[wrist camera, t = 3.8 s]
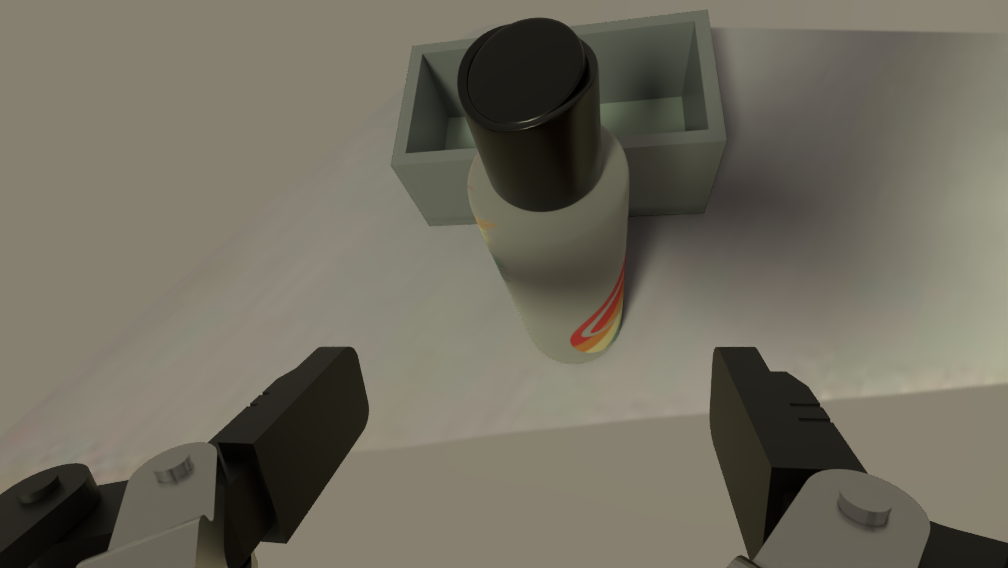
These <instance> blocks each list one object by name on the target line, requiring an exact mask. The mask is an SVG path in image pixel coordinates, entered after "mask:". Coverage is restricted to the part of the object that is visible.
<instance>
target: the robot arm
mask: <svg viewBox="0 0 1008 568" xmlns="http://www.w3.org/2000/svg"><path fill="white" fill-rule="evenodd" d="M368 415H369V404H368V399H367V395H366V390H365V386H364V381H363V377H362V373H361V368H360V364H359V359H358V355H357V353H356V351H355V350H354V349H353V348H352V347H319V348H317V349H316V350H315V351H314V352H313V353H312V354H311V355H310V356H309V357H308V358H307V359H306V360H304V361H303V362H302V363H301V364H300V365H299V366H298V367H297V368H296V369H294V370H292V371H290V372H289V373H287V374H285V375H283V376H281V377H280V378H278V379H277V380H276V381H274V382H273V383H272V384H271V385H270V386H269V387H268V388H267V389H266V390H265V391H264V392H263V395H259V396H258V397H257V398H256V399H255V400H254V401H253V402H252V403H250V407H246V408H245V409H244V410H243V411H242V412H241V413H240V414H238V415H237V416H236V417H235V418H234V419H233V420H232V421H231V422H230V423H229V424H228V425H226V426H225V427H224V428H223V429H222V430H221V431H220V432H219V433H218V434H217V435H216V436H214V437H213V438H212V439H211V440H210V441H209V442H208V443H204V442H196V443H189V444H184V445H181V446H177V447H174V448H172V449H169V450H167V451H165V452H162V453H160V454H159V455H157V456H155V457H153V458H152V459H150V460H148V461H147V462H146V463H144V464H143V465H142V466H141V467H139V468H138V469H137V470H136V471H135V472H134V473H133V475H132V476H131V478H130V479H129V480H126V481H121V482H115V483H110V484H104V485H99V486H97V485H96V482H95V480H94V478H93V476H92V474H91V472H90V470H89V468H88V467H87V466H86V465H84V464H78V463H74V464H65V465H61V466H56V467H53V468H50V469H47V470H44V471H42V472H39V473H37V474H35V475H32V476H30V477H28V478H26V479H24V480H22V481H21V482H19V483H17V484H15V485H14V486H12V487H11V488H9V489H8V490H6V491H5V492H3V493H2V494H1V495H0V568H258V562H257V558H256V556H255V553H254V549H255V548H256V547H257V545H258V544H259V543H260V541H262V542H273V543H285V544H286V543H287V542H288V541H289V539H290V538H291V536H292V535H293V533H294V532H295V530H296V529H297V527H298V526H299V525H300V523H301V522H302V520H303V519H304V517H305V516H306V514H307V513H308V511H309V510H310V508H311V507H312V505H313V504H314V503H315V501H316V500H317V498H318V497H319V495H320V494H321V492H322V491H323V489H324V488H325V486H326V485H327V483H328V482H329V481H330V479H331V478H332V476H333V474H334V473H335V472H336V470H337V469H338V467H339V466H340V464H341V463H342V461H343V460H344V459H345V457H346V456H347V454H348V453H349V451H350V450H351V448H352V447H353V445H354V444H355V442H356V441H357V439H358V438H359V436H360V435H361V434H362V432H363V431H364V429H365V427H366V424H367V420H368ZM710 429H711V435H712V440H713V445H714V447H715V451H716V454H717V457H718V460H719V464H720V467H721V470H722V473H723V476H724V479H725V483H726V486H727V489H728V492H729V496H730V499H731V502H732V505H733V508H734V511H735V514H736V518H737V521H738V524H739V527H740V531H741V534H742V537H743V540H744V543H745V547H746V549H747V553H748V556H749V559H750V560H749V559H748V558H746V557H744V556H742V555H740V556H737V557H736V558H735V559H734V560H733V561H732V562H731V563H730V564H729V565H728V566H727V568H1008V543H1006V542H1002V541H998V540H994V539H991V538H987V537H983V536H979V535H975V534H972V533H968V532H964V531H960V530H956V529H953V528H949V527H946V526H943V525H939V524H937V523H934V522H932V521H929V519H928V517H927V515H926V513H925V511H924V510H923V509H922V507H921V506H920V505H919V504H918V503H917V502H916V501H915V500H914V499H913V498H912V497H911V496H909V495H908V494H907V493H906V492H904V491H903V490H901V489H900V488H898V487H897V486H895V485H893V484H891V483H889V482H887V481H885V480H883V479H880V478H878V477H875V476H872V475H869V474H868V473H867V472H866V470H865V469H864V468H863V466H862V465H861V463H860V462H859V460H858V459H857V457H856V456H855V454H854V453H853V452H852V450H851V448H850V447H849V445H848V444H847V443H846V441H845V440H844V438H843V437H842V435H841V434H840V432H839V431H838V429H837V428H836V427H835V425H834V424H833V423H831V422H830V418H829V416H828V415H827V413H826V412H825V410H824V409H823V408H822V407H820V403H819V402H818V400H817V399H816V397H815V396H814V394H813V393H812V392H811V390H810V389H809V387H808V386H807V385H805V384H804V383H802V382H801V381H799V380H798V379H796V378H795V377H793V376H792V375H790V374H789V373H788V372H770V370H769V369H768V367H767V365H766V363H765V362H764V360H763V358H762V357H761V355H760V353H759V352H758V350H757V349H756V348H755V347H716V348H715V349H714V353H713V362H712V379H711V397H710Z"/></svg>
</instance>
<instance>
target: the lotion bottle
mask: <svg viewBox="0 0 1008 568" xmlns="http://www.w3.org/2000/svg"><path fill="white" fill-rule="evenodd" d="M457 91H458V96H459V100H460V103H461V106H462V109H463V112H464V115H465V117H466V120H467V123H468V125H469V128H470V131H471V133H472V136H473V139H474V141H475V144H476V147H477V149H478V153H477V155H476V156H475V158H474V160H473V163H472V165H471V168H470V171H469V176H468V197H469V202H470V206H471V209H472V211H473V214H474V217H475V219H476V221H477V224H478V226H479V228H480V230H481V233H482V235H483V237H484V239H485V241H486V243H487V246H488V248H489V250H490V252H491V254H492V256H493V258H494V261H495V263H496V265H497V267H498V269H499V271H500V273H501V276H502V278H503V280H504V282H505V284H506V286H507V288H508V291H509V293H510V295H511V297H512V299H513V301H514V303H515V306H516V308H517V310H518V312H519V314H520V316H521V318H522V321H523V323H524V325H525V327H526V329H527V331H528V333H529V335H530V337H531V339H532V340H533V342H534V343H535V345H536V346H537V347H538V348H539V349H540V350H541V351H542V352H543V353H544V354H545V355H547V356H548V357H550V358H552V359H554V360H556V361H559V362H562V363H567V364H581V363H586V362H589V361H592V360H594V359H596V358H598V357H600V356H601V355H603V354H604V353H605V352H606V351H607V350H608V349H609V348H610V347H611V346H612V345H613V343H614V342H615V340H616V338H617V336H618V333H619V330H620V326H621V320H622V308H623V291H624V274H625V257H626V240H627V223H628V205H629V167H628V162H627V158H626V155H625V152H624V150H623V148H622V146H621V144H620V142H619V141H618V140H617V138H616V137H615V136H614V135H613V134H612V133H611V132H610V131H609V130H608V129H607V128H606V127H604V126H603V125H601V122H600V91H599V66H598V60H597V57H596V55H595V53H594V51H593V50H592V48H591V47H590V46H589V45H588V44H587V43H586V42H584V41H583V40H582V39H580V38H579V37H578V36H577V35H576V34H575V32H574V31H573V30H572V29H571V28H569V27H568V26H567V25H565V24H564V23H562V22H559V21H556V20H553V19H548V18H529V19H524V20H520V21H517V22H514V23H512V24H508V25H504V26H500V27H497V28H495V29H492V30H490V31H488V32H486V33H485V34H483V35H482V36H480V37H479V38H478V39H477V40H475V41H474V42H473V43H472V45H471V46H470V47H469V48H468V50H467V51H466V53H465V54H464V56H463V58H462V61H461V63H460V66H459V70H458V76H457Z"/></svg>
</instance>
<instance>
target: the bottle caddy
mask: <svg viewBox="0 0 1008 568" xmlns="http://www.w3.org/2000/svg"><path fill="white" fill-rule="evenodd" d="M569 28H571V29H572V30H573V31H574V32H575V34H576V35H577V36H578V37H579V38H580V39H582V40H583V41H584V42H586V43H587V44H588V45H589V46H590V47H591V48H592V50H593V51H594V53H595V55H596V57H597V60H598V66H599V91H600V122H601V125H603V126H604V127H606V128H607V129H608V130H609V131H610V132H611V133H612V134H613V135H614V136H615V137H616V138H617V140H618V141H619V142H620V144H621V146H622V148H623V150H624V152H625V155H626V158H627V162H628V167H629V205H628V216H649V215H670V214H691V213H704V212H705V208H706V205H707V202H708V199H709V196H710V193H711V189H712V186H713V183H714V180H715V177H716V174H717V170H718V167H719V164H720V161H721V158H722V155H723V151H724V148H725V145H726V142H727V138H726V131H725V124H724V117H723V111H722V104H721V97H720V90H719V83H718V76H717V70H716V63H715V56H714V49H713V42H712V35H711V29H710V22H709V15H708V10H701V11H693V12H685V13H677V14H668V15H660V16H652V17H644V18H636V19H628V20H620V21H612V22H604V23H595V24H587V25H579V26H571V27H569ZM477 39H478V38H474V39H466V40H458V41H450V42H441V43H434V44H425V45H417V46H412V51H411V56H410V62H409V67H408V73H407V78H406V84H405V89H404V95H403V100H402V106H401V111H400V117H399V122H398V128H397V133H396V139H395V144H394V150H393V156H392V161H391V167H392V168H393V170H394V171H395V173H396V175H397V176H398V178H399V179H400V181H401V182H402V184H403V186H404V187H405V189H406V190H407V192H408V193H409V195H410V196H411V198H412V200H413V201H414V203H415V204H416V206H417V207H418V209H419V211H420V212H421V214H422V215H423V217H424V218H425V220H426V221H427V223H428V225H429V226H440V225H461V224H477V221H476V219H475V217H474V214H473V211H472V209H471V206H470V202H469V197H468V176H469V171H470V168H471V165H472V163H473V160H474V158H475V156H476V155H477V153H478V149H477V147H476V144H475V141H474V139H473V136H472V133H471V131H470V128H469V125H468V123H467V120H466V117H465V115H464V112H463V109H462V106H461V103H460V100H459V96H458V91H457V76H458V70H459V66H460V63H461V61H462V58H463V56H464V54H465V53H466V51H467V50H468V48H469V47H470V46H471V45H472V43H473V42H474V41H475V40H477Z"/></svg>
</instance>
